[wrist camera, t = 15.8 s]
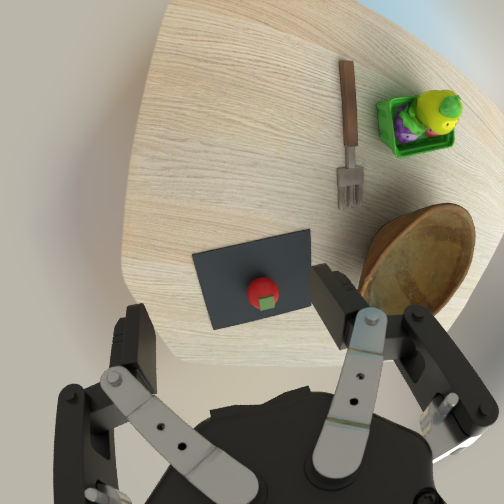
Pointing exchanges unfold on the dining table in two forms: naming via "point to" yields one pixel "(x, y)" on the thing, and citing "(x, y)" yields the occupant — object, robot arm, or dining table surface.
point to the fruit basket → (419, 122)
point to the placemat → (251, 267)
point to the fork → (349, 140)
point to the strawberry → (263, 293)
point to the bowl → (418, 259)
